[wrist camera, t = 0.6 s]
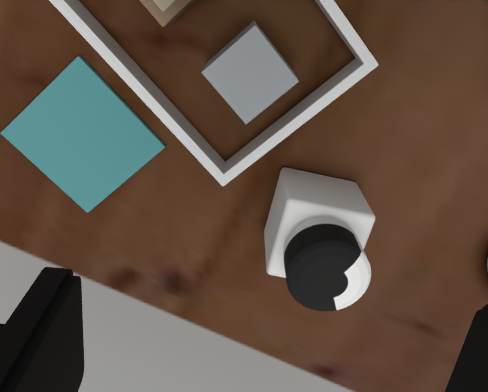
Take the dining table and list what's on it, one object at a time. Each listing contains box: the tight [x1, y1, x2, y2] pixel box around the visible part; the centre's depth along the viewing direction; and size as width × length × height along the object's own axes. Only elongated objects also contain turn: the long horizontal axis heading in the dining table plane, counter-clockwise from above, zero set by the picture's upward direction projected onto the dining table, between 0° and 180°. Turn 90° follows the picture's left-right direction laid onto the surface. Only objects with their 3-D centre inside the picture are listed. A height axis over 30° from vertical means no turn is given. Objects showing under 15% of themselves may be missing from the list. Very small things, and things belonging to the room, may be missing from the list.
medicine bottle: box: [264, 167, 375, 311], centre depth 38 cm, size 7×7×12 cm
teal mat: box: [1, 55, 166, 213], centre depth 40 cm, size 10×10×1 cm
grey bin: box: [49, 0, 379, 186], centre depth 35 cm, size 16×21×3 cm
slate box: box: [202, 21, 299, 124], centre depth 36 cm, size 5×5×5 cm
